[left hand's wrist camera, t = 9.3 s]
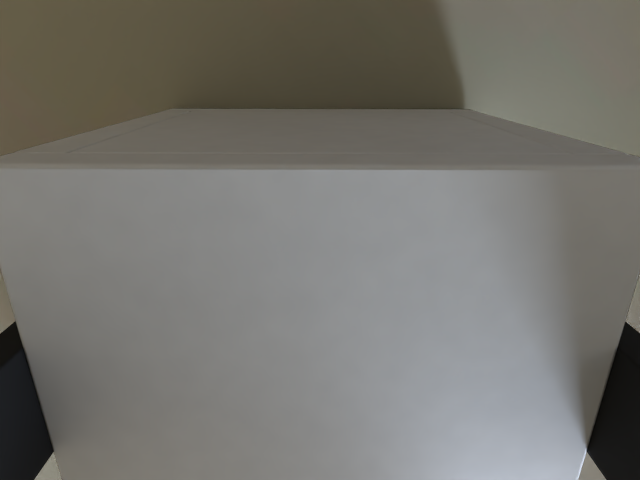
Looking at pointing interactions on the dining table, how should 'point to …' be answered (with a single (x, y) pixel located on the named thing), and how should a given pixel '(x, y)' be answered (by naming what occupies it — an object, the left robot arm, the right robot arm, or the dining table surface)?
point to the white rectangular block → (320, 293)
